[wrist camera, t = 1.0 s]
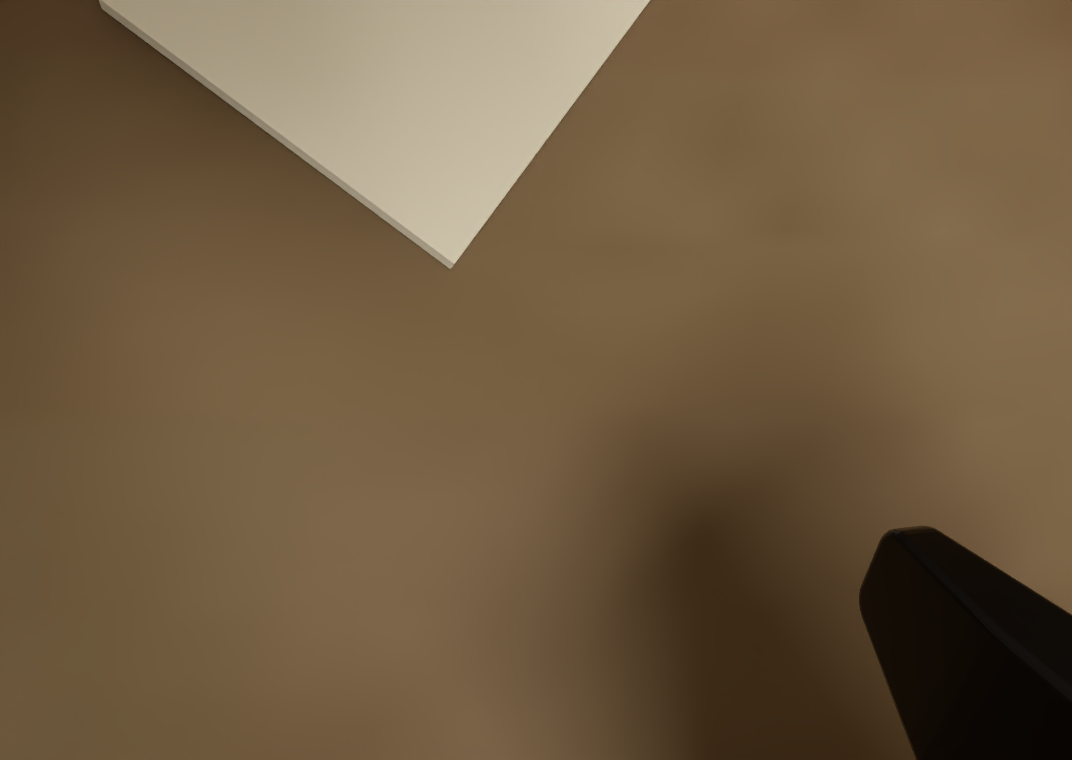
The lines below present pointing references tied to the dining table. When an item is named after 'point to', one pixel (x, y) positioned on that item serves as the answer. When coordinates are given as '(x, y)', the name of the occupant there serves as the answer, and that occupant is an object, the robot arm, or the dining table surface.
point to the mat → (397, 89)
